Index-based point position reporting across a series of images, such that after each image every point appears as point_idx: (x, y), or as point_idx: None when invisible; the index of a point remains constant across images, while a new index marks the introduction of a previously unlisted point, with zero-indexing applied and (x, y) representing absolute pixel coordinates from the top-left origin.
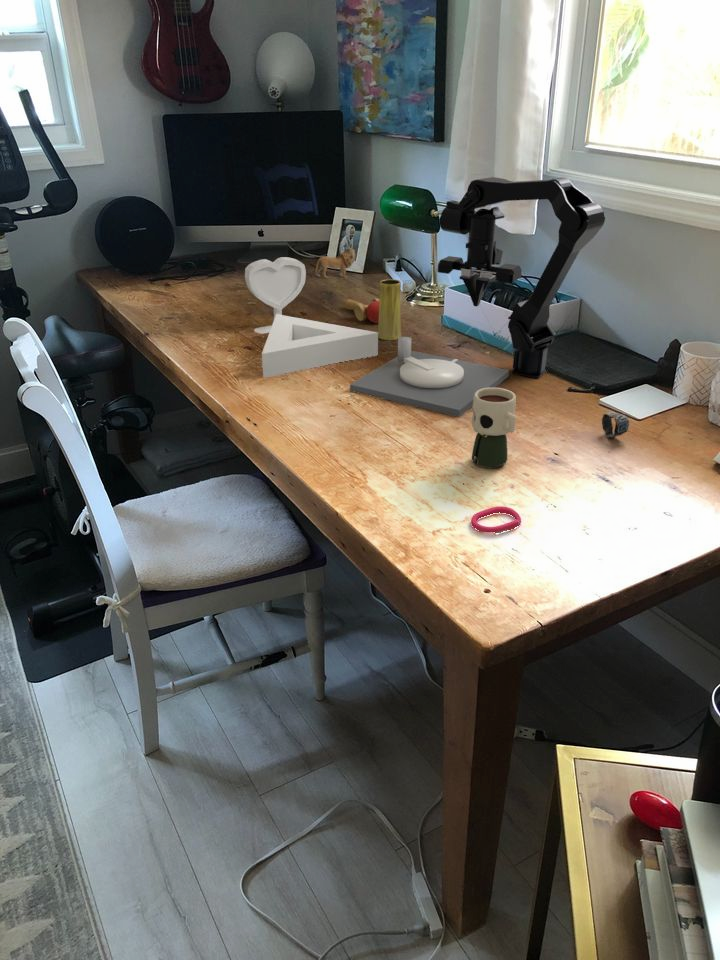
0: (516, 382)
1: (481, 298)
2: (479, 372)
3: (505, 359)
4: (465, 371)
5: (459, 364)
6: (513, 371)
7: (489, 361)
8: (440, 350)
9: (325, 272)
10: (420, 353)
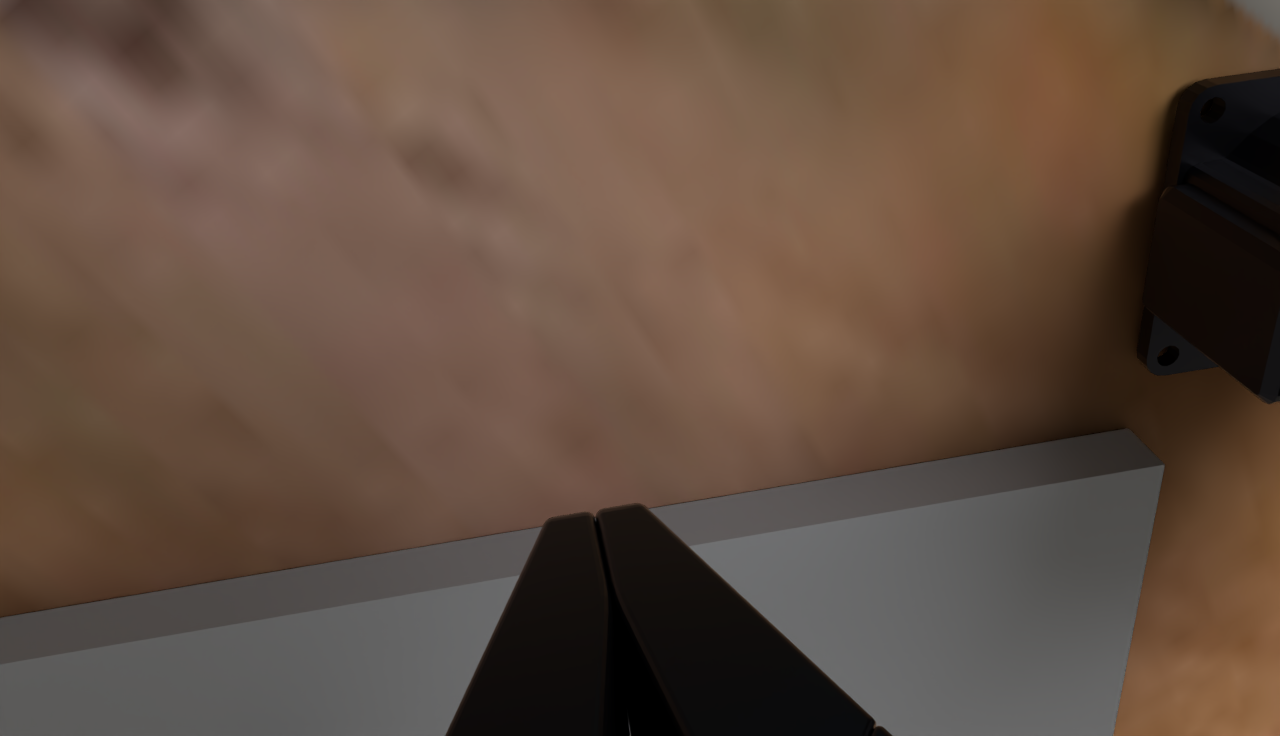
0: (1220, 489)
1: (741, 608)
2: (930, 661)
3: (947, 14)
4: None
5: None
6: (1167, 367)
7: (806, 201)
8: (89, 261)
9: None
10: (147, 663)
